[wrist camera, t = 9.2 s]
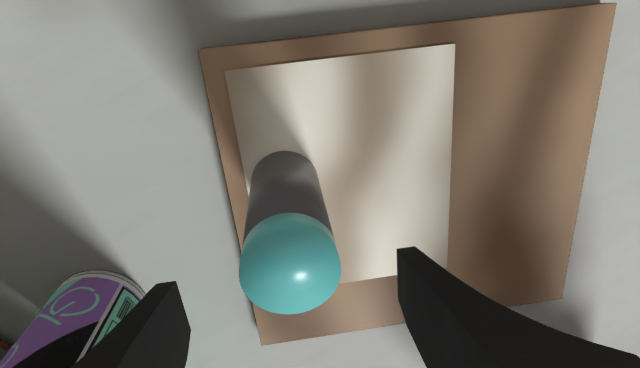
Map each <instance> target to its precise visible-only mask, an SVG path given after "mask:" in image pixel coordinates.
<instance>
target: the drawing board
mask: <svg viewBox="0 0 640 368" xmlns="http://www.w3.org/2000/svg"><path fill="white" fill-rule="evenodd" d="M616 4H617V3H597V4H588V5H579V6H571V7H562V8H553V9H544V10H536V11H527V12H518V13H509V14H501V15H492V16H483V17H474V18H466V19H457V20H448V21H439V22H431V23H422V24H413V25H404V26H395V27H387V28H378V29H369V30H360V31H352V32H343V33H334V34H325V35H317V36H308V37H299V38H290V39H282V40H273V41H264V42H255V43H247V44H238V45H229V46H220V47H212V48H203V49H200V50H198V53H199V57H200V62H201V67H202V71H203V76H204V81H205V85H206V90H207V95H208V99H209V104H210V108H211V113H212V118H213V122H214V127H215V132H216V136H217V141H218V146H219V150H220V155H221V160H222V164H223V169H224V174H225V178H226V183H227V188H228V192H229V197H230V202H231V206H232V211H233V216H234V220H235V225H236V229H237V234H238V239H239V243H240V248H241V253H242V246H243V238H244V231H245V223H246V216H247V208H248V200H249V193H250V185H251V178H252V173H253V171H254V169H255V167H256V165H257V164H258V163H259V162H260V160H262V159H263V158H264V157H266V156H267V155H269V154H271V153H274V152H278V151H292V152H296V153H299V154H301V155H303V156H304V157H306V158H307V159H308V160H309V161H310V162H311V163H312V164H313V166H314V167H315V169H316V172H317V175H318V179H319V183H320V187H321V190H322V194H323V198H324V202H325V206H326V209H327V213H328V217H329V221H330V224H331V228H332V232H333V236H334V240H335V243H336V247H337V251H338V255H339V258H340V263H341V278H340V281H339V284H338V286H337V288H336V290H335V291H334V293H333V294H332V295H331V297H330V298H329V299H327V300H326V301H325V302H324V303H323V304H321V305H320V306H318V307H316V308H314V309H312V310H310V311H306V312H303V313H298V314H277V313H273V312H269V311H266V310H264V309H262V308H260V307H259V306H257V305H255V304H254V303H253V302H252V304H253V309H254V313H255V318H256V323H257V327H258V332H259V337H260V341H261V346H263V345H269V344H275V343H282V342H288V341H295V340H301V339H307V338H314V337H320V336H326V335H333V334H339V333H346V332H352V331H358V330H365V329H371V328H377V327H384V326H390V325H397V324H403V323H406V322H405V319H404V316H403V313H402V310H401V307H400V303H399V300H398V285H397V249H399V248H406V247H413V246H415V247H416V248H418V249H419V250H420V251H422V252H423V253H424V254H426V255H427V256H428V257H430V258H431V259H432V260H433V261H435V262H436V263H437V264H439V265H440V266H441V267H443V268H444V269H445V270H447V271H448V272H450V273H451V274H452V275H454V276H455V277H457V278H458V279H460V280H461V281H463V282H464V283H466V284H467V285H469V286H470V287H472V288H473V289H475V290H477V291H478V292H480V293H481V294H483V295H485V296H486V297H488V298H490V299H492V300H493V301H495V302H497V303H499V304H501V305H503V306H505V307H511V306H518V305H524V304H530V303H537V302H543V301H549V300H556V299H562V294H563V288H564V283H565V277H566V272H567V267H568V261H569V256H570V251H571V245H572V240H573V235H574V229H575V224H576V218H577V213H578V208H579V202H580V197H581V192H582V186H583V181H584V175H585V170H586V165H587V159H588V154H589V149H590V143H591V138H592V132H593V127H594V122H595V116H596V111H597V106H598V100H599V95H600V90H601V84H602V79H603V73H604V68H605V63H606V57H607V52H608V47H609V41H610V36H611V30H612V25H613V20H614V14H615V9H616Z"/></svg>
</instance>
